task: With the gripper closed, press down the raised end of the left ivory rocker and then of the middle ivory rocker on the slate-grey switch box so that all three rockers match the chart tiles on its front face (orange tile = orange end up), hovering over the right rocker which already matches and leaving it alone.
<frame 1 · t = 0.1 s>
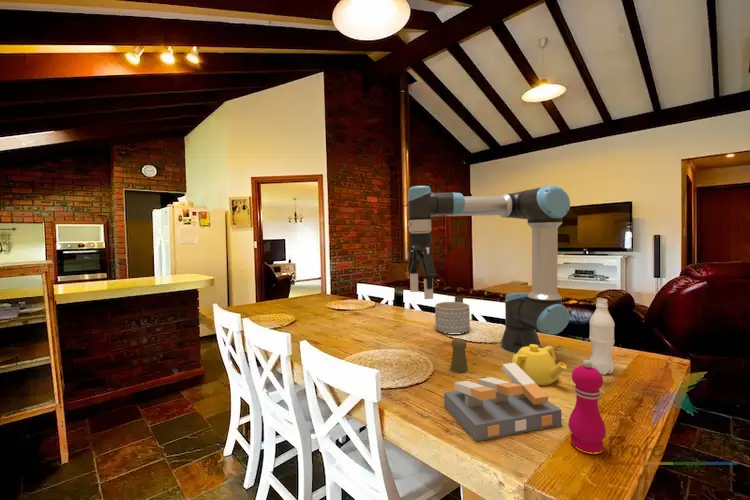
hand: (421, 295, 116), 28 cm above the table, fingers open, 13 cm apart
olive brown shaker: (459, 370, 121), on the table
rocker A: (523, 382, 93), point 8 cm above the table, hinge at -15.0°
water bottle: (601, 372, 116), on the table
planter: (452, 331, 168), on the table
rocker B: (499, 385, 91), point 8 cm above the table, hinge at 15.0°
teapot: (539, 380, 112), on the table
rocker C: (473, 389, 89), point 8 cm above the table, hinge at 15.0°
switch box: (499, 415, 91), on the table
pepper mill: (586, 447, 77), on the table
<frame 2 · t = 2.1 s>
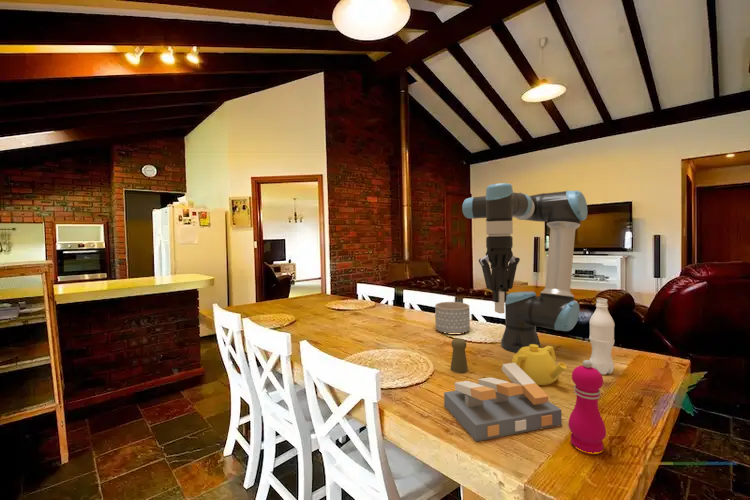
hand: (499, 312, 104), 24 cm above the table, fingers closed
nothing on the table moved.
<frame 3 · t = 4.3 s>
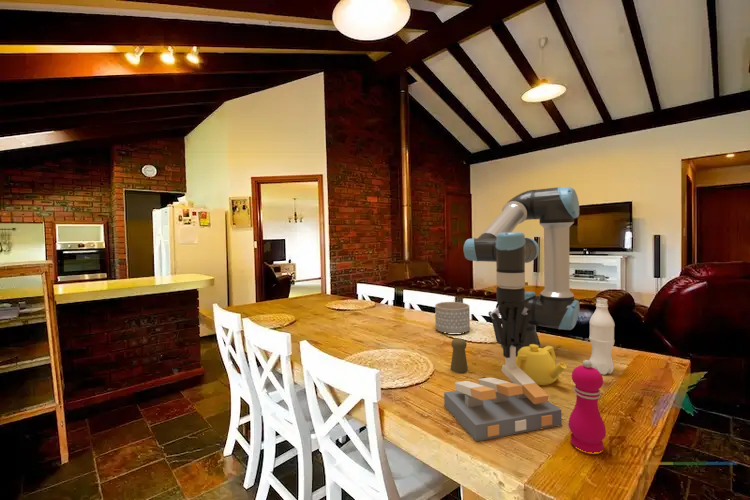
hand: (510, 367, 98), 10 cm above the table, fingers closed
rocker A: (523, 382, 93), point 8 cm above the table, hinge at -13.1°, touching gripper
everything else where it was.
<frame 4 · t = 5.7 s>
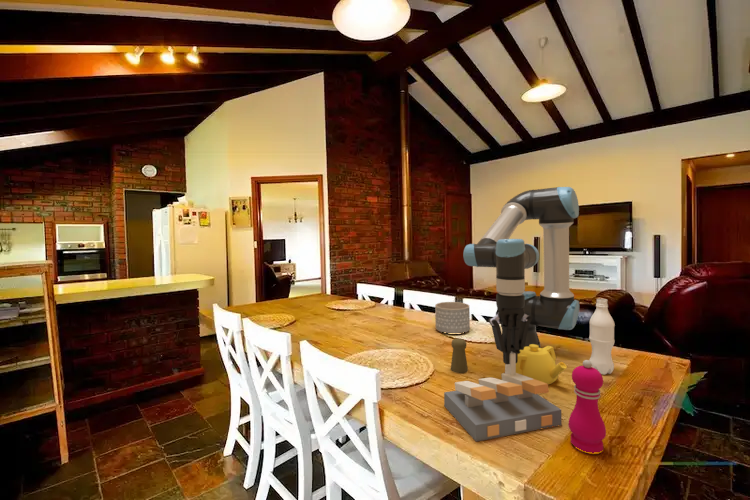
hand: (510, 374, 98), 8 cm above the table, fingers closed
rocker A: (523, 382, 93), point 8 cm above the table, hinge at 10.1°, touching gripper
everything else where it was.
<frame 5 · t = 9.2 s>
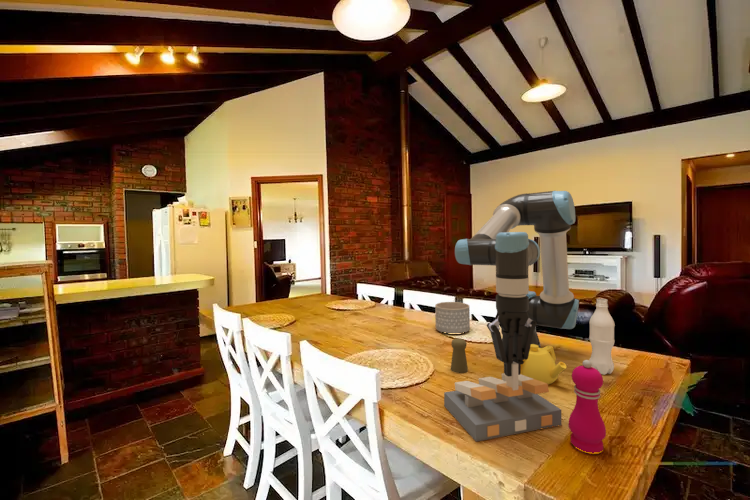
hand: (512, 387, 85), 10 cm above the table, fingers closed
rocker A: (523, 382, 93), point 8 cm above the table, hinge at 10.3°
rocker B: (499, 385, 91), point 8 cm above the table, hinge at 13.4°, touching gripper
everything else where it was.
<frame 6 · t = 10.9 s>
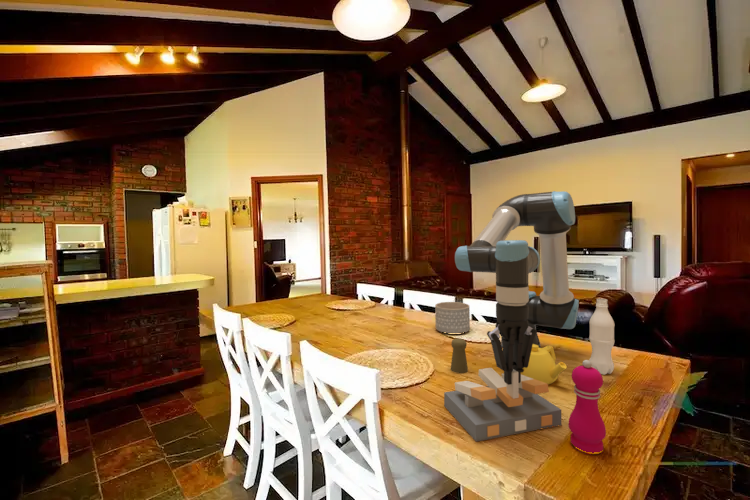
hand: (512, 395, 85), 8 cm above the table, fingers closed
rocker B: (499, 385, 91), point 8 cm above the table, hinge at -9.3°, touching gripper
everything else where it was.
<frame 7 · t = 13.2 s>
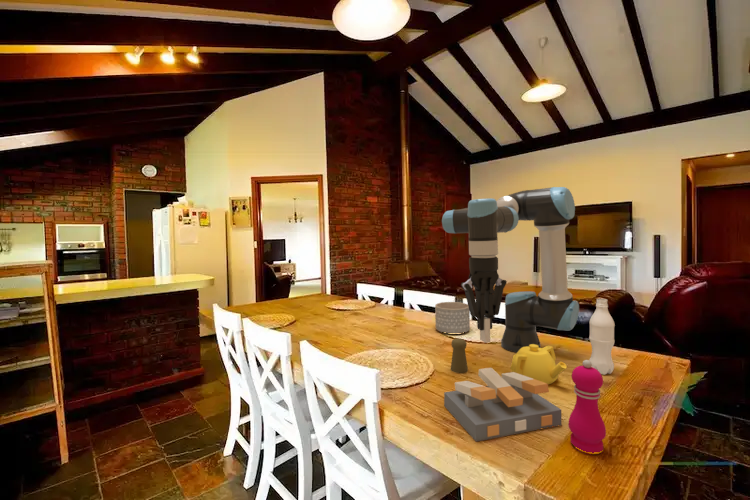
hand: (485, 340, 94), 19 cm above the table, fingers closed
rocker B: (499, 385, 91), point 8 cm above the table, hinge at -9.4°
everything else where it was.
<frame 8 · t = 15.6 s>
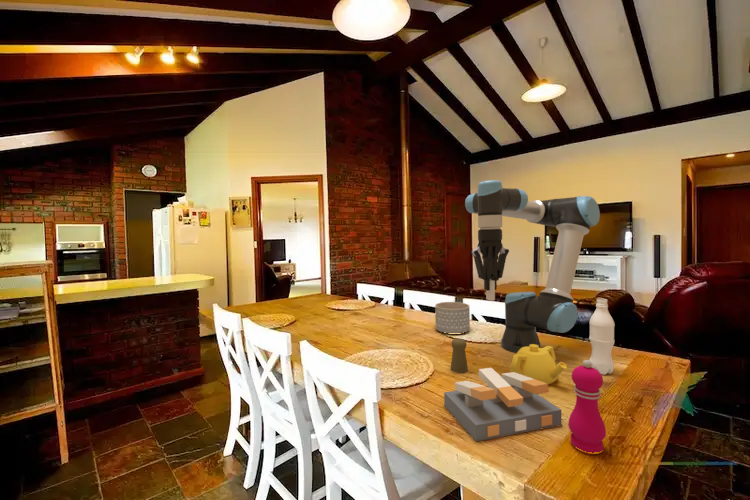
hand: (490, 299, 113), 26 cm above the table, fingers closed
nothing on the table moved.
at the end: rocker A at +10° (first picture: -15°); rocker B at -9° (first picture: +15°); rocker C at +15° (first picture: +15°) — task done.
